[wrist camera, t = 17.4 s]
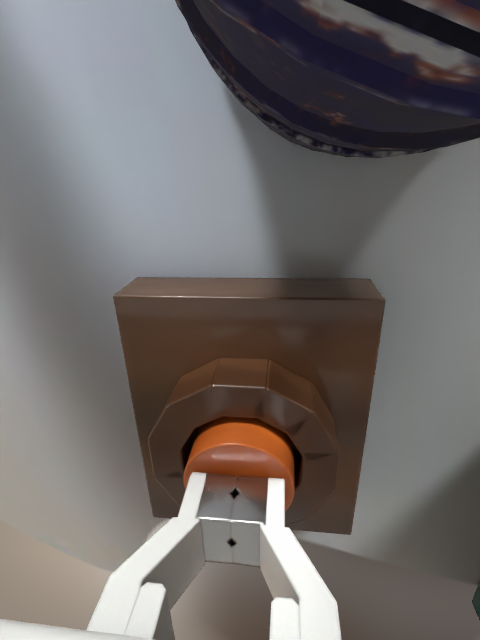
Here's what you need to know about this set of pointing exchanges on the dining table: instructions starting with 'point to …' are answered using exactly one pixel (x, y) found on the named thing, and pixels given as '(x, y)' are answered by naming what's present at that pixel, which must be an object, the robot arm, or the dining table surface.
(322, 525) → the button block
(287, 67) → the oil barrel
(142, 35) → the dining table surface
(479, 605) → the tea tin
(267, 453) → the button
